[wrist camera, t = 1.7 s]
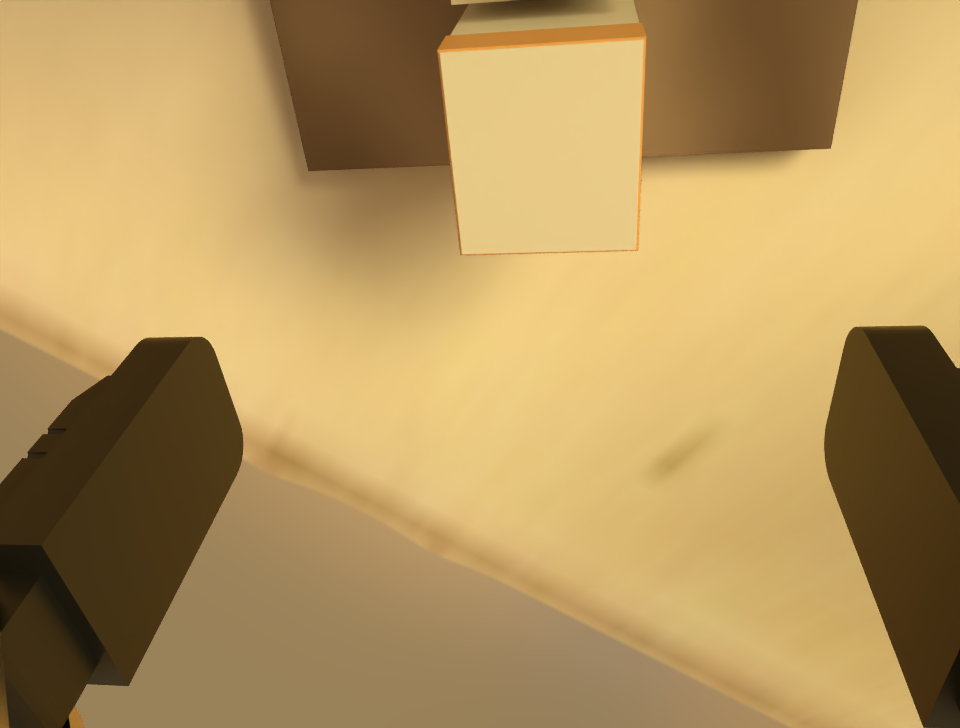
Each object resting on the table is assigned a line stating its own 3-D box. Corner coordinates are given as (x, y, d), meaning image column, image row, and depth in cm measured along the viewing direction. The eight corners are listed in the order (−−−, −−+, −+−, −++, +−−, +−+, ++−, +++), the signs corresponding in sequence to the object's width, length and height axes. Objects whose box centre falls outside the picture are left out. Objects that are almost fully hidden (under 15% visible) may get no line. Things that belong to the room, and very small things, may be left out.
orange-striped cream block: (629, -26, 20) (646, 36, 15) (625, 144, 23) (638, 252, 17) (476, -14, 21) (436, 50, 15) (489, 150, 23) (460, 256, 18)
